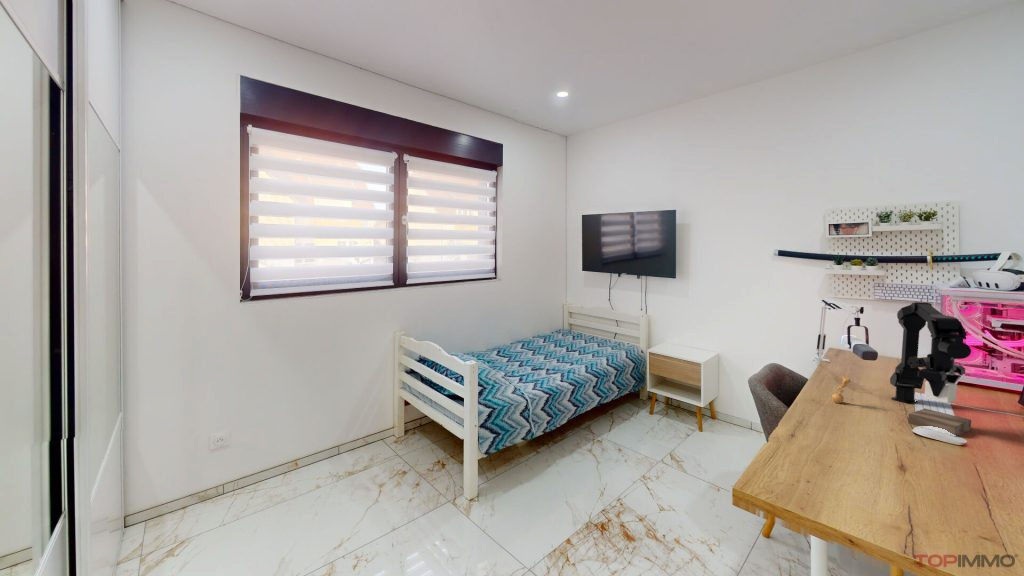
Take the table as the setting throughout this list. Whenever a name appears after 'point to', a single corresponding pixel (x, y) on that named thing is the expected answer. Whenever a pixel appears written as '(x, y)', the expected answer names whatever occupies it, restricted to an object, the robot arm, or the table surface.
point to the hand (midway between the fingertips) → (940, 394)
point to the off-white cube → (946, 394)
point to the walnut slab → (940, 421)
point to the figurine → (837, 396)
